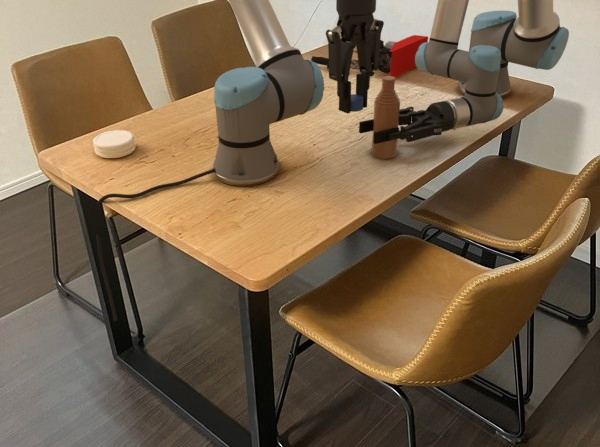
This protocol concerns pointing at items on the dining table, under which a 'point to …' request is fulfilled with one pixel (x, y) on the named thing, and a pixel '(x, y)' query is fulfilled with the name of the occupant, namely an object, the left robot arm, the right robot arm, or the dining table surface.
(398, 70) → the electric hoist
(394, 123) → the bottle
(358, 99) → the cap
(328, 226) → the dining table surface
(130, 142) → the coaster
